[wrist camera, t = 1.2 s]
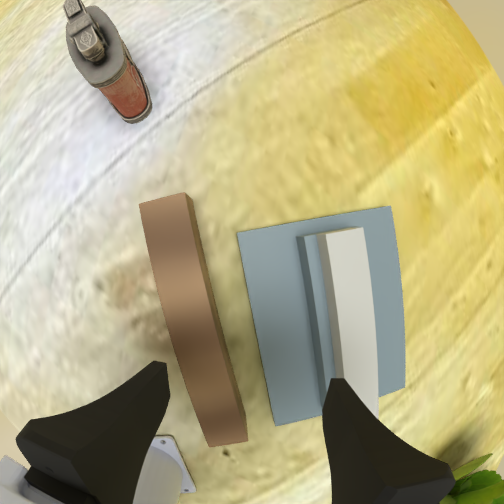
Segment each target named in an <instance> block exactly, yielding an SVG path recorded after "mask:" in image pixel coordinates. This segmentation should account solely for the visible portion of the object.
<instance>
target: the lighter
mask: <svg viewBox="0 0 504 504" xmlns="http://www.w3.org/2000/svg"><path fill="white" fill-rule="evenodd" d="M63 9H64V12H65V14H66V17H67V20H68V22H67V25H66V41H67V45H68V50H69V54H70V56H71V58H72V60H73V62H74V64H75V66H76V68H77V69H78V70H79V72H80V73H81V74H82V75H83V77H84V78H85V79H86V80H87V81H88V82H89V83H90V85H92V86H93V87H95V88H99V90H100V91H101V92H102V93H103V94H104V95H105V96H106V97H107V99H108V100H109V102H110V104H111V106H112V107H113V108H114V109H115V110H116V112H117V113H118V114H119V115H120V116H121V118H122V119H123V120H124V121H126V122H127V123H131V124H133V123H138V122H140V121H143V120H144V119H145V118H146V117H147V116H148V115H149V114H150V112H151V110H152V102H151V98H150V94H149V90H148V88H147V85H146V83H145V81H144V78H143V76H142V74H141V72H140V71H139V69H138V68H137V66H136V65H135V63H134V62H133V60H132V58H131V56H130V53H129V51H128V49H127V47H126V45H125V44H124V42H123V40H122V39H121V37H120V35H119V33H118V31H117V29H116V27H115V25H114V24H113V23H112V21H111V20H110V18H109V17H108V16H107V14H106V13H104V12H103V11H102V10H101V9H100V8H99V7H97V6H89V7H85V6H84V4H83V3H82V1H81V0H66V1H65V2H64V4H63Z"/></svg>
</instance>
